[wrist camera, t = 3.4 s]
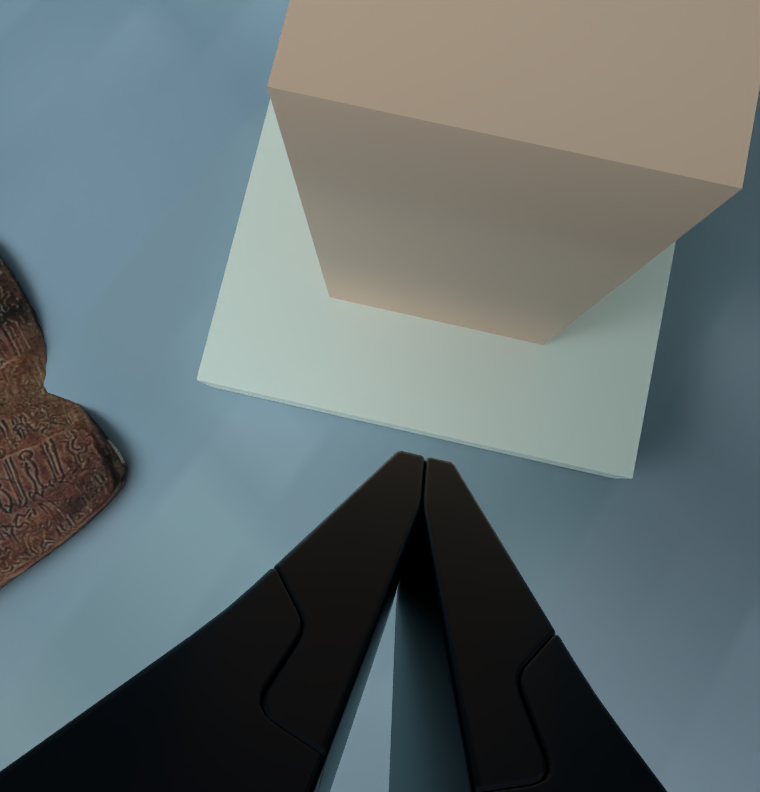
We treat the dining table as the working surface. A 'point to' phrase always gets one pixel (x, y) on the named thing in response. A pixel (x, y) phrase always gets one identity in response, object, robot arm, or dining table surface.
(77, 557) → the dining table surface
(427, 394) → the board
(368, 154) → the beige cardboard box
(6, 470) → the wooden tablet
